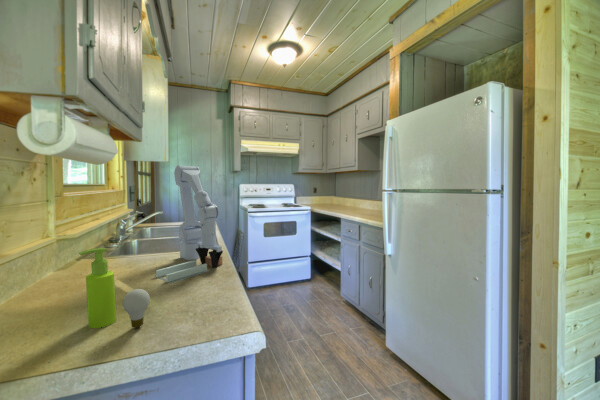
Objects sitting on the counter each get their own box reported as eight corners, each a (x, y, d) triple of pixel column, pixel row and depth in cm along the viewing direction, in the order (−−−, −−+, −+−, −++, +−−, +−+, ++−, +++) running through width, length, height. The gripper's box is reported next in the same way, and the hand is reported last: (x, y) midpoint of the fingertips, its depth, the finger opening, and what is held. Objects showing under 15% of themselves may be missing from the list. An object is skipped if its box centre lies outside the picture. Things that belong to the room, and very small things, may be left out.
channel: (154, 279, 101) (153, 269, 100) (192, 268, 113) (192, 259, 113) (170, 287, 94) (170, 276, 93) (209, 274, 106) (209, 264, 106)
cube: (205, 256, 114) (215, 254, 118) (205, 268, 114) (216, 265, 118) (211, 259, 111) (222, 256, 115) (212, 270, 111) (222, 267, 115)
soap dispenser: (81, 324, 70) (77, 249, 68) (113, 314, 75) (109, 244, 73) (85, 333, 66) (81, 253, 64) (118, 322, 71) (115, 248, 69)
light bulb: (122, 336, 64) (120, 296, 64) (125, 324, 70) (123, 287, 69) (150, 330, 67) (148, 292, 66) (151, 319, 72) (149, 283, 72)
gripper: (190, 233, 113) (191, 264, 114) (210, 237, 104) (211, 271, 106) (204, 230, 119) (205, 260, 120) (225, 235, 110) (226, 267, 111)
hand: (209, 265), depth 113 cm, fingers open, 7 cm apart
